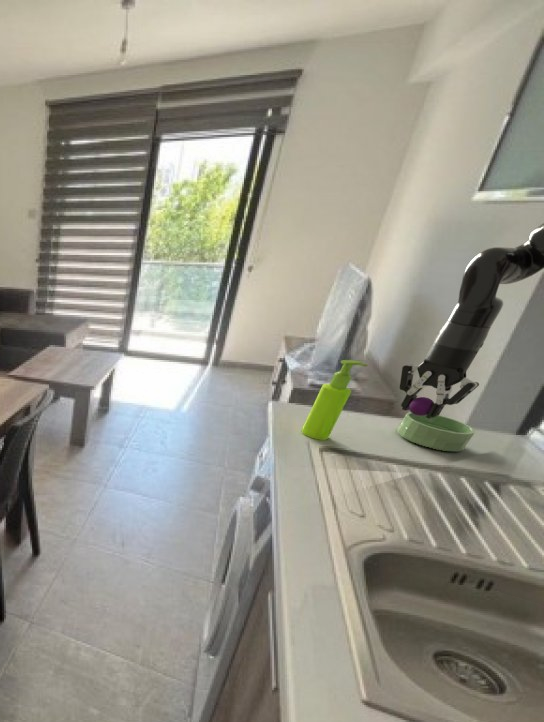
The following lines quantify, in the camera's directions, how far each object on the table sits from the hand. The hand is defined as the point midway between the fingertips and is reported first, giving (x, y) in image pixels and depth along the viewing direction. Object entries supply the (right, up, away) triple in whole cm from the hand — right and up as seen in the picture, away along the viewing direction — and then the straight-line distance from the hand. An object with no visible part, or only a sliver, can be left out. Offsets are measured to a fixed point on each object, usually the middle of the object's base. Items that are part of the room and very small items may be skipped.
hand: (417, 413), depth 115 cm
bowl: (+13, -7, +10) cm, 18 cm away
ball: (0, +2, -1) cm, 2 cm away
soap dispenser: (-17, -5, +10) cm, 20 cm away
